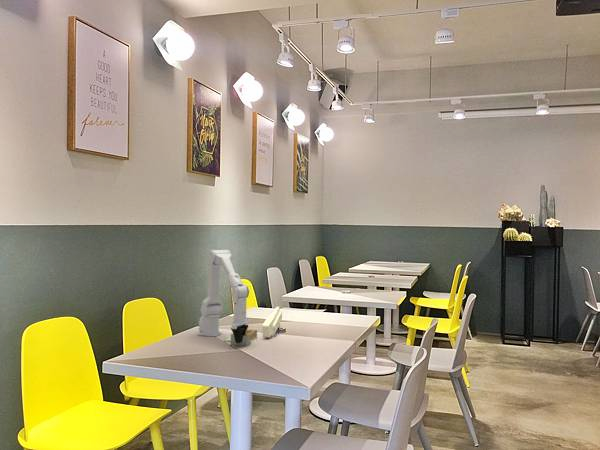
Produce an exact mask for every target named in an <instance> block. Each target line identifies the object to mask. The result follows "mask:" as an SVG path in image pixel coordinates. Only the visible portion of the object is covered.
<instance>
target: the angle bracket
mask: <svg viewBox="0 0 600 450" xmlns="http://www.w3.org/2000/svg"><path fill="white" fill-rule="evenodd" d="M230 337H231V342H230V346H233V347H249V346H250V345H252V341H251V342H249V335H243V334H242V337H241V343H236V342H235V338H234V334H233V333H231V334H230Z"/></svg>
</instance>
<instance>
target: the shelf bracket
mask: <svg viewBox="0 0 600 450" xmlns="http://www.w3.org/2000/svg"><path fill="white" fill-rule="evenodd" d="M282 318H283V312H282V311H281V310H280V306H276V307H275V308H274V310H273V311H272V312H270V314H269V315H267V318H266V319H265V320H264V322H263V323H262V327H261V328H262V337H263V338H269V339H270V338H271V337H274V336H275V335H276V333H277V330H279V329H278V328H280V329H281V321H282Z"/></svg>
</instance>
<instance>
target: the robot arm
mask: <svg viewBox="0 0 600 450" xmlns="http://www.w3.org/2000/svg"><path fill="white" fill-rule="evenodd" d="M207 265H208V266H209V267H208V268H209V271H208V286H207V287H208V288H207V297H206V298H205V299H203V300H202V301H201V302H202V303H201V306H200V314H201V316H200V318H199V321H198V336H203V337H204V336H206V337H207V336H208V337H217V336H219V335H221V334H223V333H222V332H221V331H220V317H221V316H222V314H223V312H224V309H223V301H222V300H221V299H220V298H219V286H220V274H221V273H220V271H221V267H222V269H224V271H225V274H226V275H227V282H228V284H229V286H230V288H231V297H232V302H233V322H232V324H231V327H230V330H231V331H232V334H234V338H235V342H236V343H241V337H242V334H243V335H245V334H246V331H247V330H248V329H249V321H248V318H247V299H248V298H249V294H250V291H249V286H247V285H246V284H245V283H243V281H242V279H241V276H240V274H239V273H237V272H235V269H234V266H233V263H232V253H231V250H229V249H218V250H217V249H211V250H210V251H208V253H207Z"/></svg>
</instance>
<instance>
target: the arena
mask: <svg viewBox="0 0 600 450" xmlns="http://www.w3.org/2000/svg"><path fill="white" fill-rule="evenodd" d="M245 335H249V342H251V343H252V341H254V340H255V339H257V338H258V337H257V335H258V330H256V329H247V331H246V334H245ZM223 342H227V343H228V342H229V343H231V336H229V337H227V338H226V339H224V340H223Z"/></svg>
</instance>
